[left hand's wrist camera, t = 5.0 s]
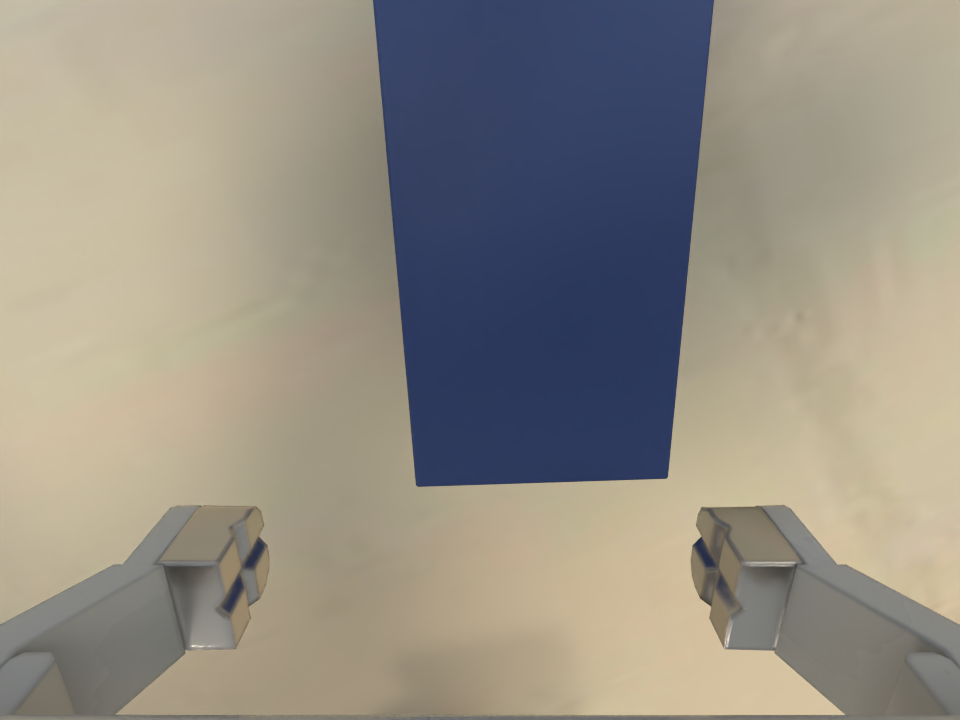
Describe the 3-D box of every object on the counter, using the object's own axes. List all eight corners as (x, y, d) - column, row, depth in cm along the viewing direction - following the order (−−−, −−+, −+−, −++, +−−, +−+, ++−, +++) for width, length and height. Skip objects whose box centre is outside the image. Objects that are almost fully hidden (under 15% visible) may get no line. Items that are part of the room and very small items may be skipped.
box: (589, 339, 24) (668, 479, 14) (441, 344, 24) (416, 487, 14) (617, -434, 16) (849, -1378, 6) (392, -423, 16) (253, -1340, 6)
